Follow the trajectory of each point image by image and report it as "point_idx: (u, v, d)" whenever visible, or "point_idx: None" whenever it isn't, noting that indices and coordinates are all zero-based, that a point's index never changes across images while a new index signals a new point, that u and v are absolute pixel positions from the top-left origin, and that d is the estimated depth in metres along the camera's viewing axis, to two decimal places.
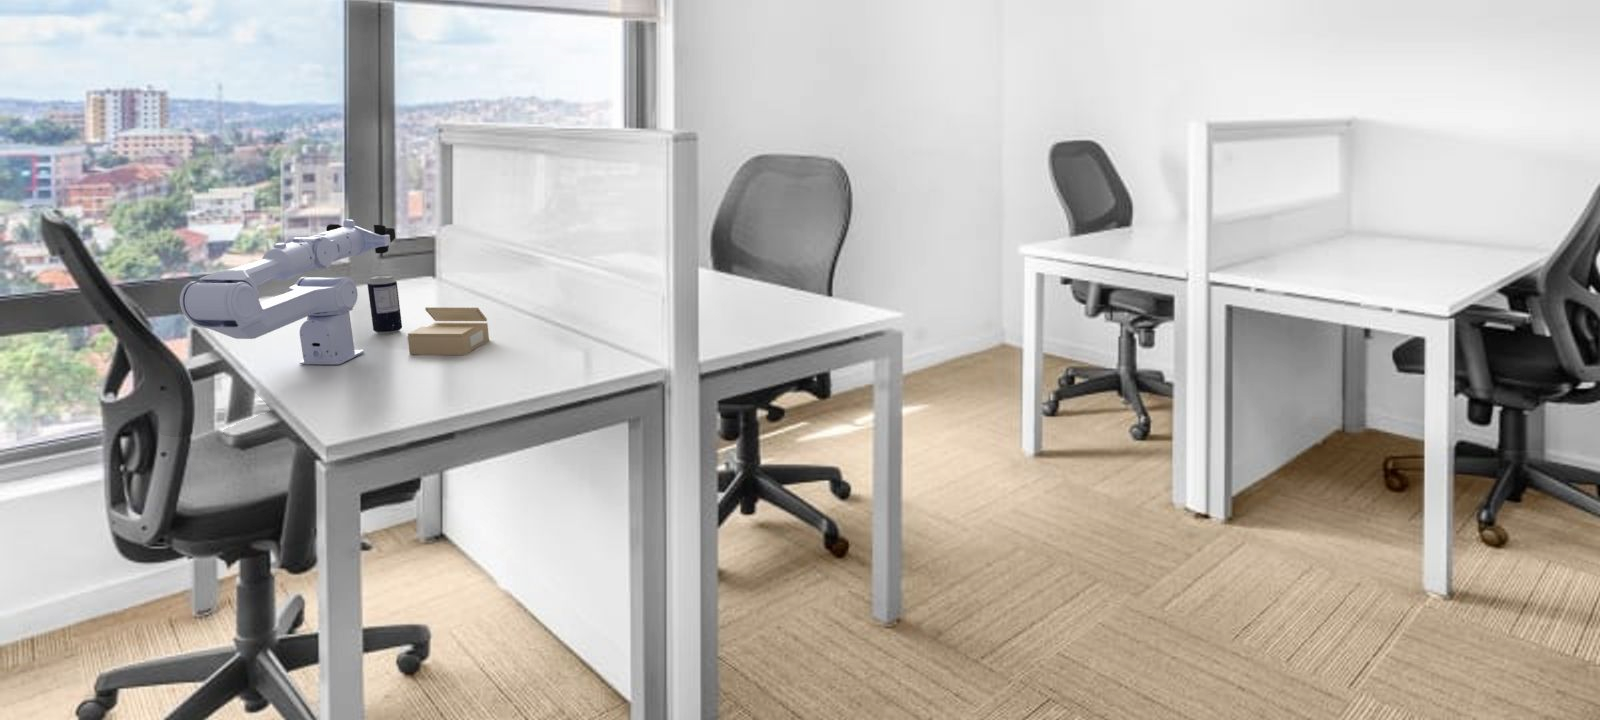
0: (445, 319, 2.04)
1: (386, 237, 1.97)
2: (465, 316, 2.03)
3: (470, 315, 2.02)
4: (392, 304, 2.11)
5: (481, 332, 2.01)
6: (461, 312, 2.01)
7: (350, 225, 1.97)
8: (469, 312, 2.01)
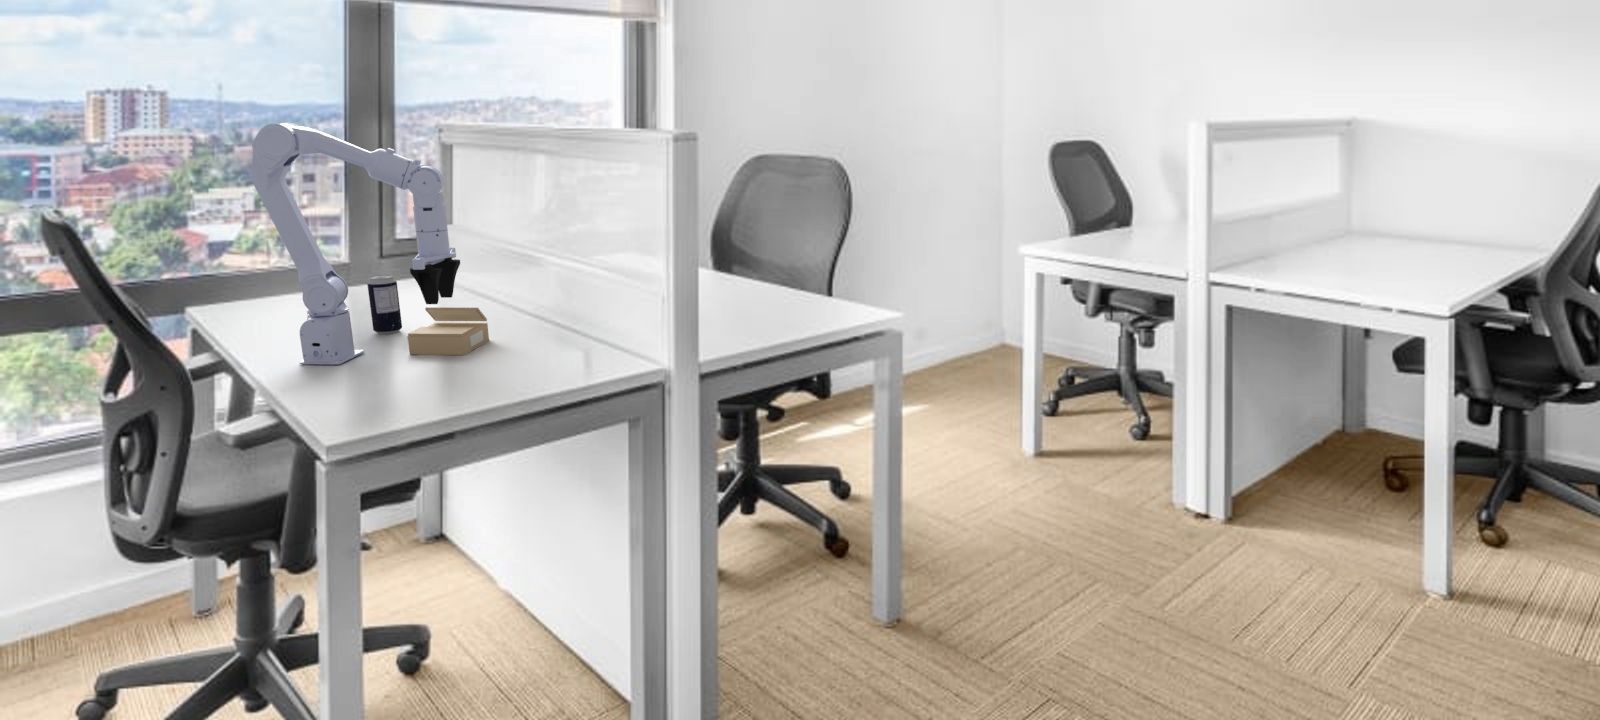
0: (445, 319, 2.04)
1: (420, 263, 1.86)
2: (465, 316, 2.03)
3: (470, 315, 2.02)
4: (392, 304, 2.11)
5: (481, 332, 2.01)
6: (461, 312, 2.01)
7: (448, 253, 1.92)
8: (469, 312, 2.01)
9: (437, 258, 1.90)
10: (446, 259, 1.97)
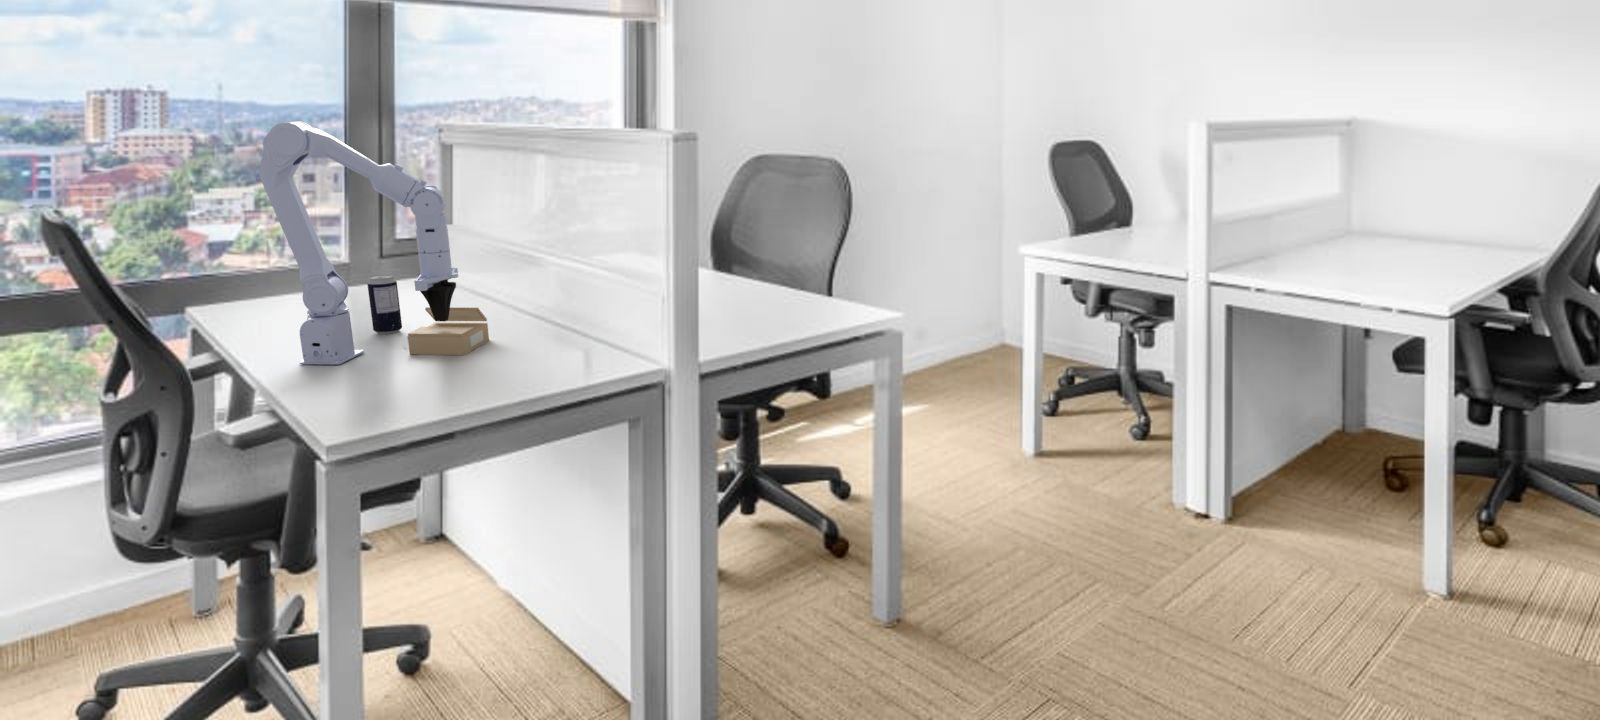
0: None
1: (423, 284, 1.87)
2: (465, 316, 2.03)
3: (470, 315, 2.02)
4: (392, 304, 2.11)
5: (481, 332, 2.01)
6: (461, 312, 2.01)
7: (450, 274, 1.93)
8: (469, 312, 2.01)
9: (439, 279, 1.91)
10: (448, 279, 1.98)
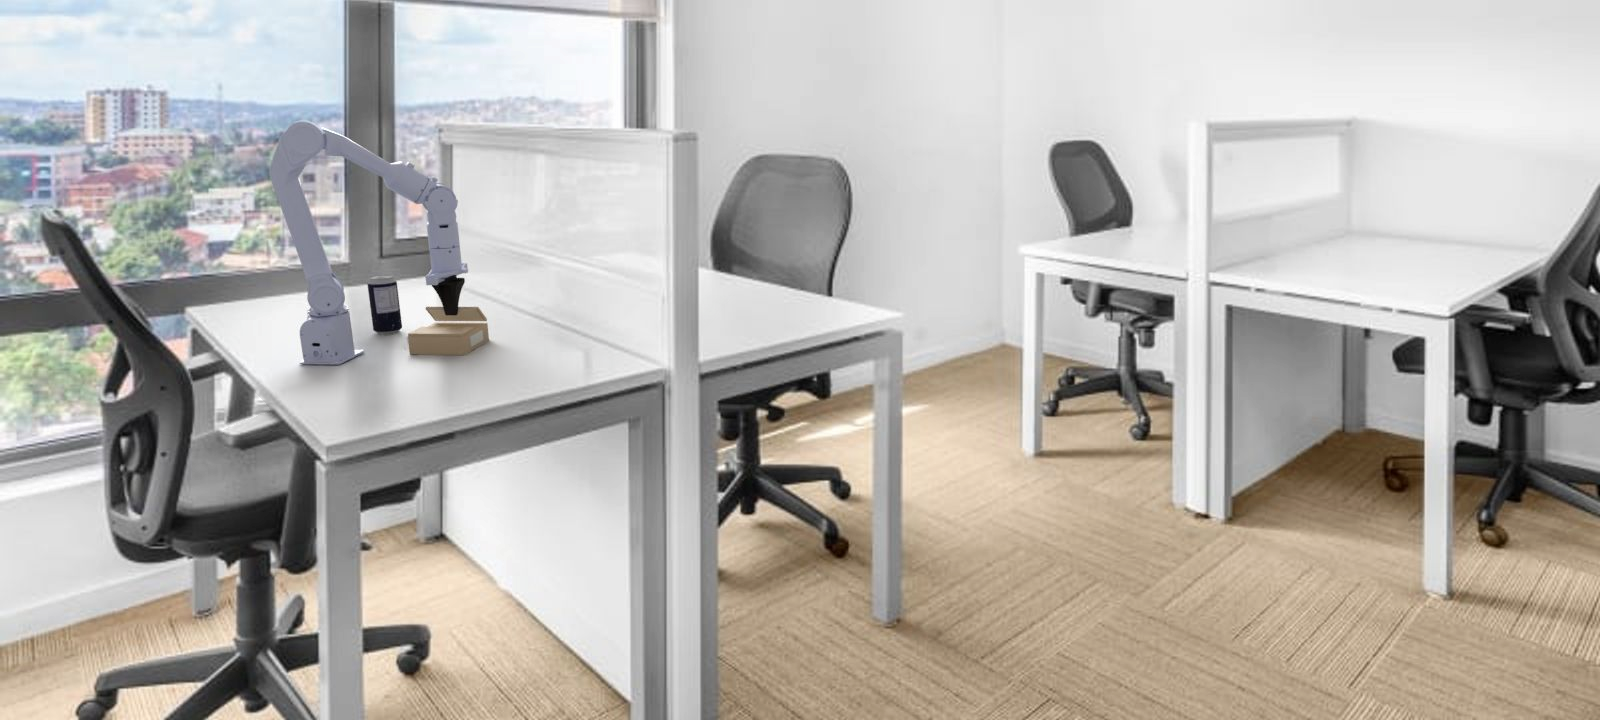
0: (445, 319, 2.04)
1: (433, 278, 1.92)
2: (465, 315, 2.03)
3: (470, 315, 2.02)
4: (392, 304, 2.11)
5: (481, 332, 2.01)
6: (461, 311, 2.01)
7: (460, 269, 1.98)
8: (469, 311, 2.01)
9: (450, 274, 1.95)
10: (458, 274, 2.02)
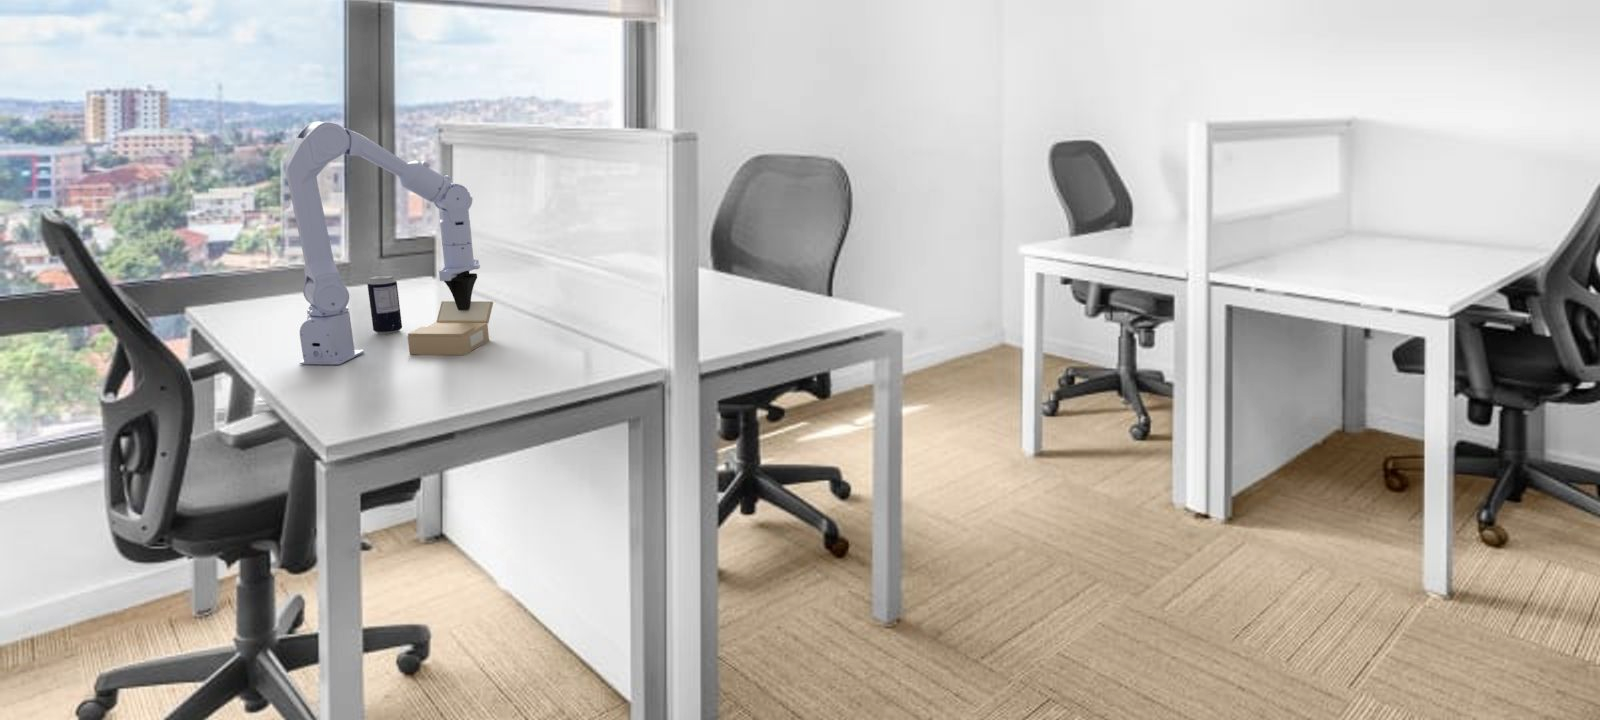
0: (449, 318, 2.06)
1: (447, 274, 1.97)
2: (473, 312, 2.06)
3: (478, 311, 2.06)
4: (392, 304, 2.11)
5: (481, 332, 2.01)
6: (473, 305, 2.07)
7: (472, 265, 2.03)
8: (481, 305, 2.07)
9: (462, 270, 2.01)
10: (470, 270, 2.08)
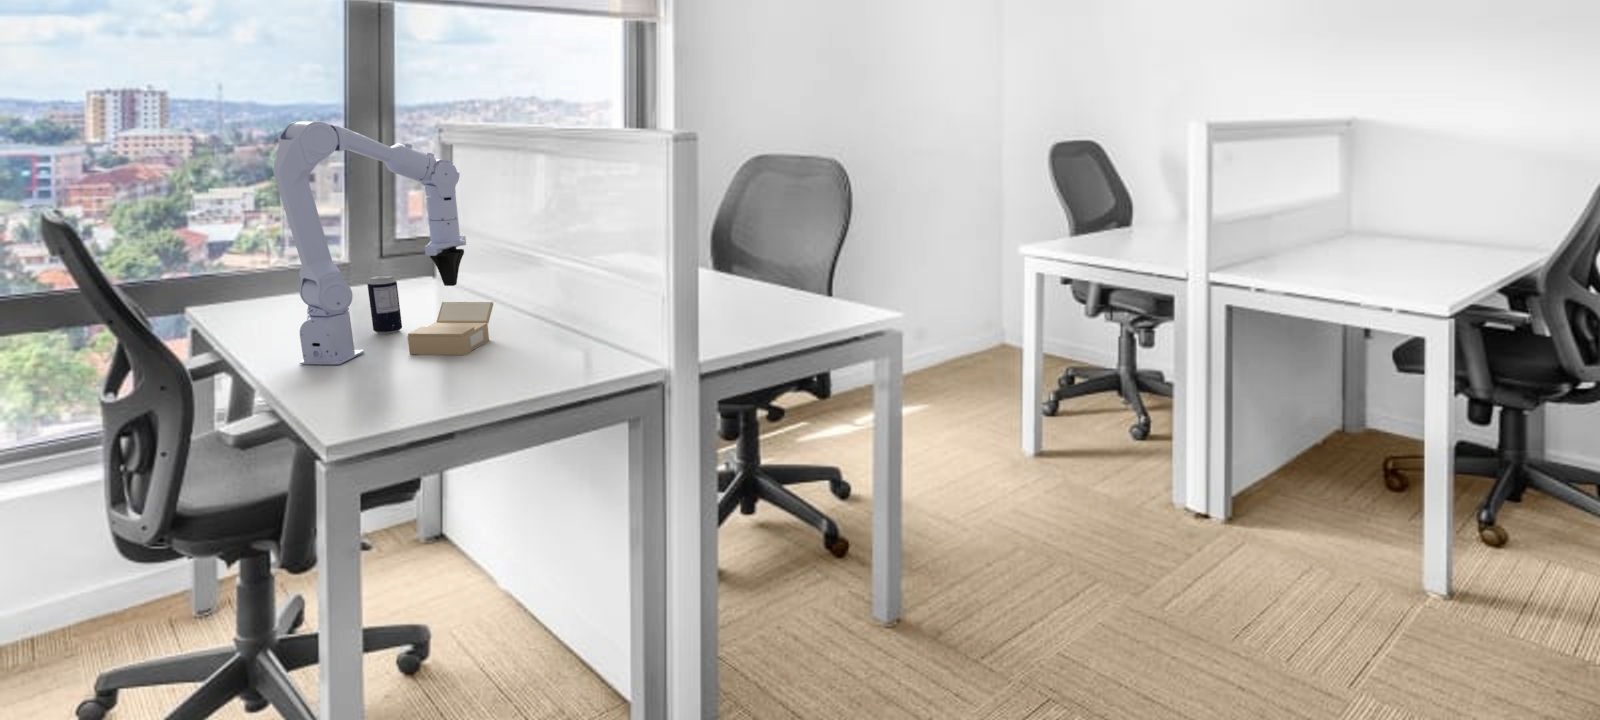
0: (449, 318, 2.06)
1: (432, 249, 1.99)
2: (473, 312, 2.06)
3: (478, 311, 2.06)
4: (392, 304, 2.11)
5: (481, 332, 2.01)
6: (474, 305, 2.07)
7: (458, 240, 2.05)
8: (481, 305, 2.07)
9: (448, 245, 2.03)
10: (457, 246, 2.09)
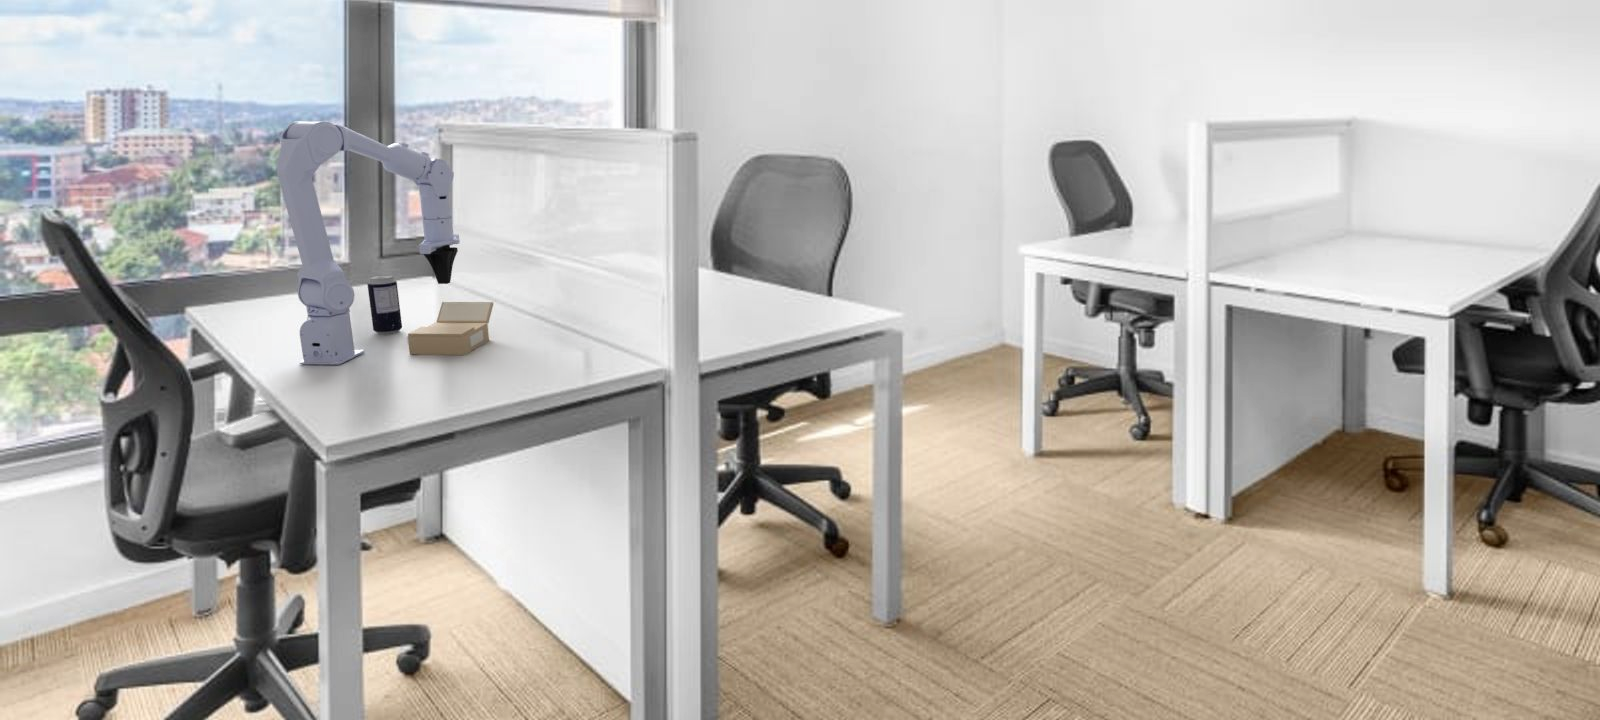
0: (449, 318, 2.06)
1: (427, 247, 2.02)
2: (473, 312, 2.06)
3: (478, 311, 2.06)
4: (392, 304, 2.11)
5: (481, 332, 2.01)
6: (474, 305, 2.07)
7: (452, 239, 2.08)
8: (481, 305, 2.07)
9: (442, 243, 2.05)
10: None
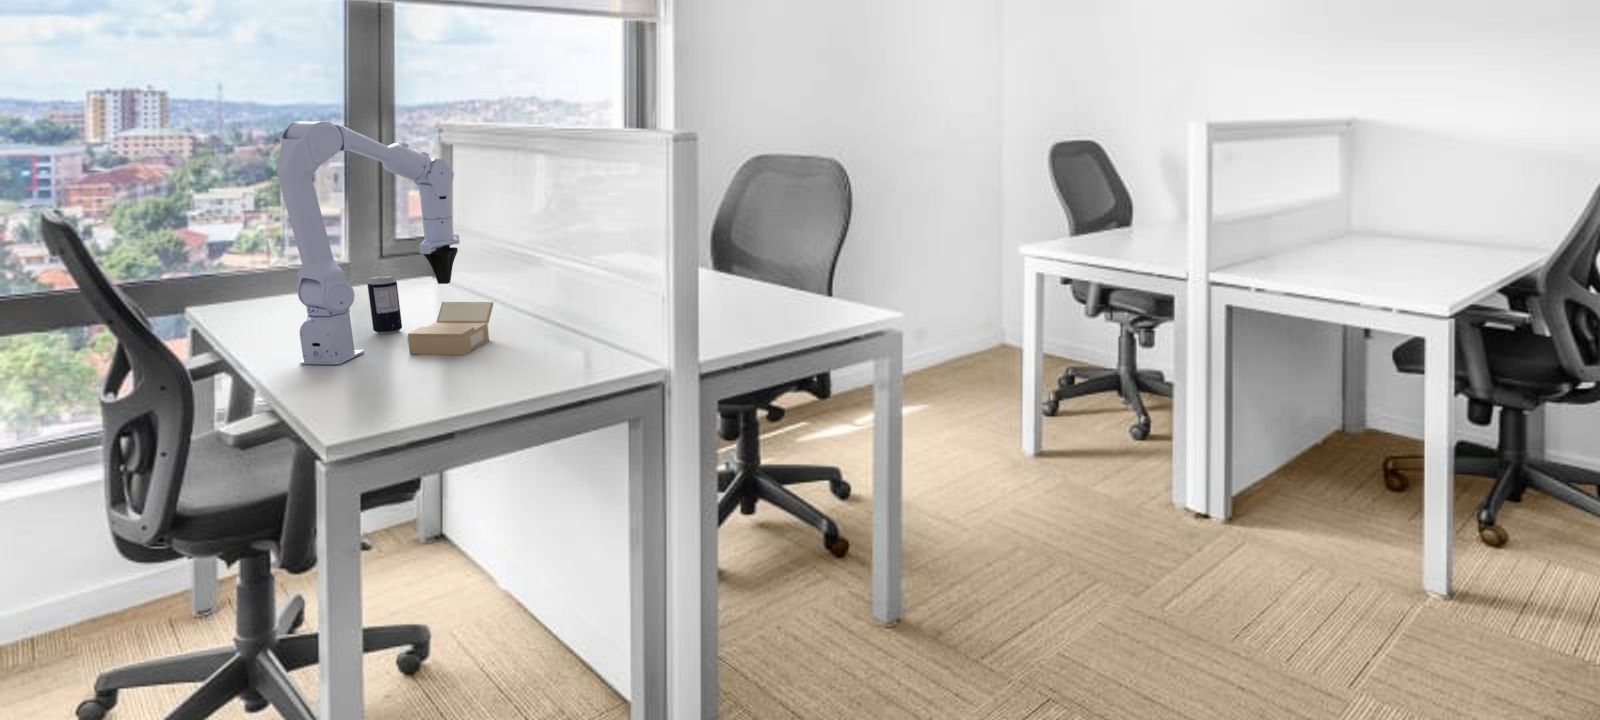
0: (449, 318, 2.06)
1: (427, 247, 2.02)
2: (473, 312, 2.06)
3: (478, 311, 2.06)
4: (392, 304, 2.11)
5: (481, 332, 2.01)
6: (474, 305, 2.07)
7: (452, 239, 2.08)
8: (481, 305, 2.07)
9: (442, 243, 2.05)
10: None
